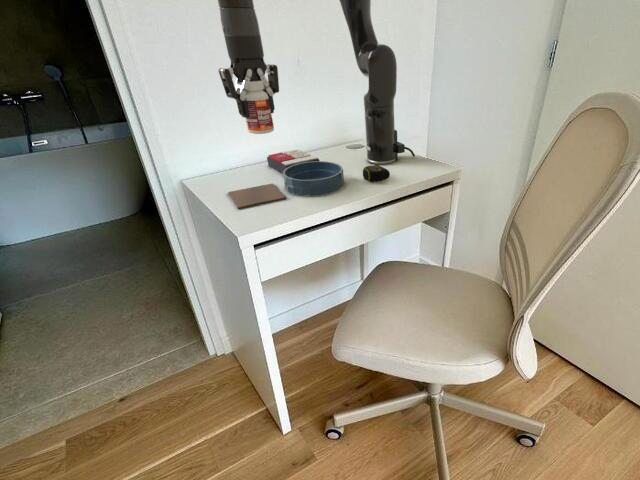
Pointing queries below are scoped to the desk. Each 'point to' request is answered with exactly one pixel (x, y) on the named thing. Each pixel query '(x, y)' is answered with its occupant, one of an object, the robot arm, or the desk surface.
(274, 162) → the calculator
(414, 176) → the desk surface
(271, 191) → the coaster
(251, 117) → the pill bottle
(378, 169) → the tape measure
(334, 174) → the bowl
